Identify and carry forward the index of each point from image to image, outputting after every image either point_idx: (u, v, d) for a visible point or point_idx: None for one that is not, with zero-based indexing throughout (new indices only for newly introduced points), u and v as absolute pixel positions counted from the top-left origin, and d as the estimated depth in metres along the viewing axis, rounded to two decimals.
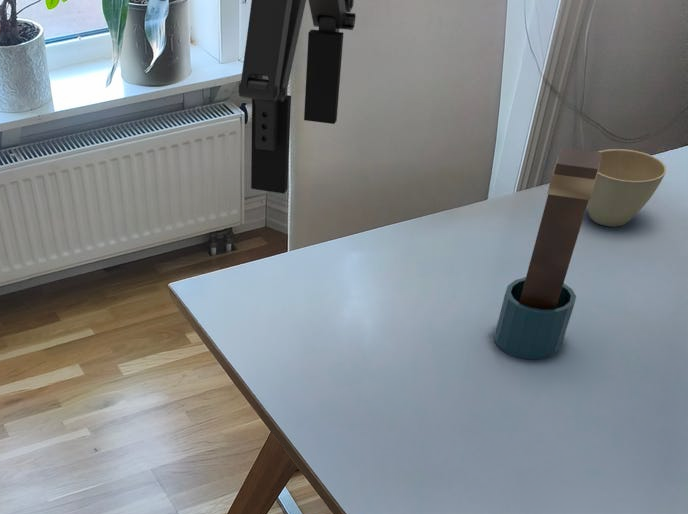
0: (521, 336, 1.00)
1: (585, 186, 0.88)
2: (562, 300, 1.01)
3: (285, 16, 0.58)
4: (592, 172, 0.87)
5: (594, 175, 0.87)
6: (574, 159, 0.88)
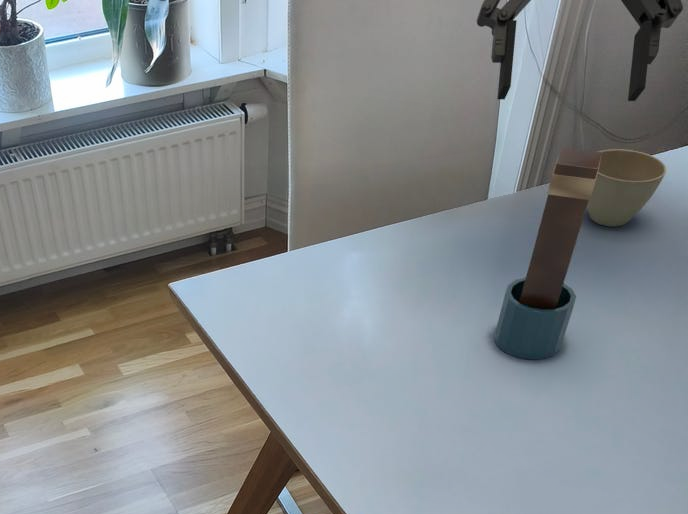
0: (521, 336, 1.00)
1: (585, 186, 0.88)
2: (562, 300, 1.01)
3: None
4: (592, 172, 0.87)
5: (594, 175, 0.87)
6: (574, 159, 0.88)
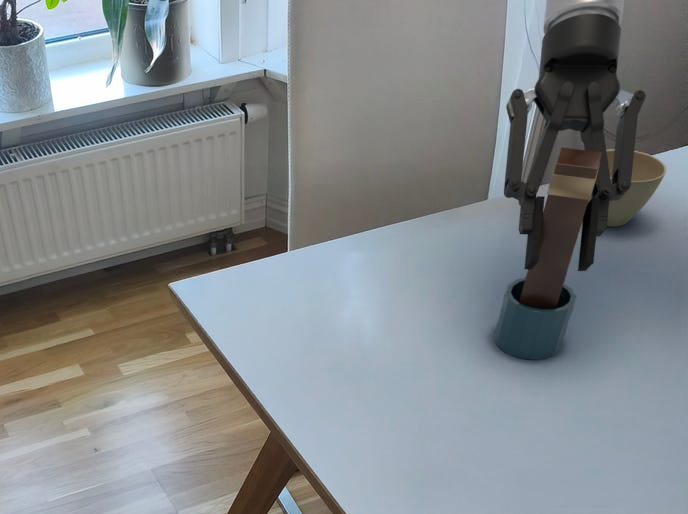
0: (521, 336, 1.00)
1: (585, 186, 0.88)
2: (562, 300, 1.01)
3: (515, 140, 0.91)
4: (592, 172, 0.87)
5: (594, 175, 0.87)
6: (574, 159, 0.88)
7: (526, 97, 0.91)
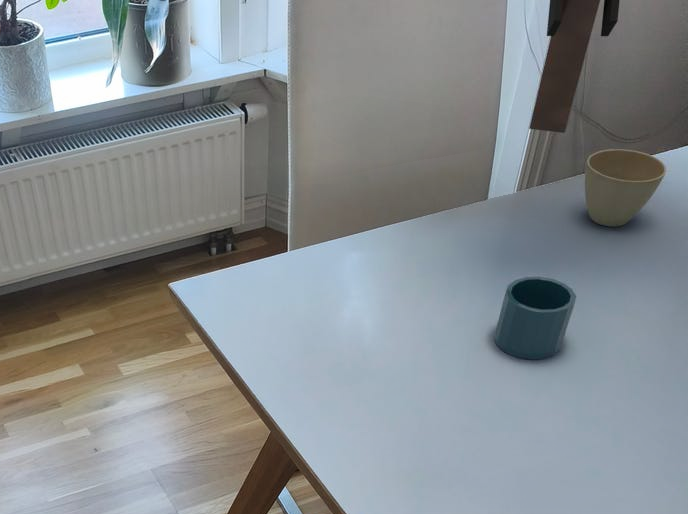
0: (521, 336, 1.00)
1: None
2: (562, 300, 1.01)
3: None
4: None
5: None
6: None
7: None
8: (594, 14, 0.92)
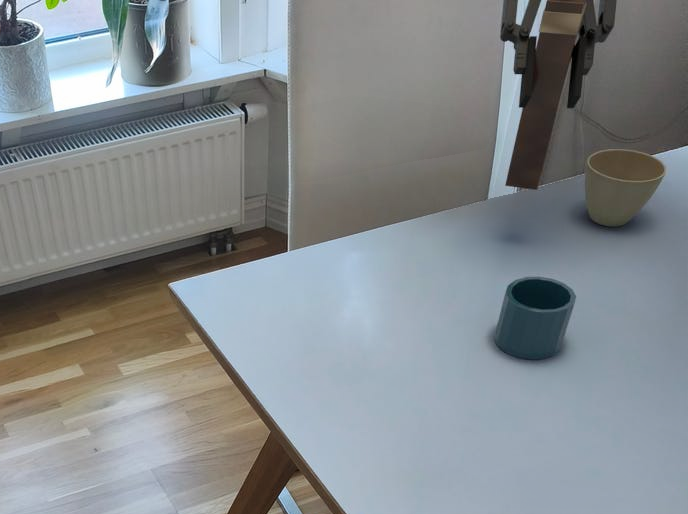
0: (521, 336, 1.00)
1: (572, 21, 0.98)
2: (562, 300, 1.01)
3: None
4: (579, 7, 0.97)
5: (580, 10, 0.97)
6: None
7: None
8: (560, 89, 1.03)
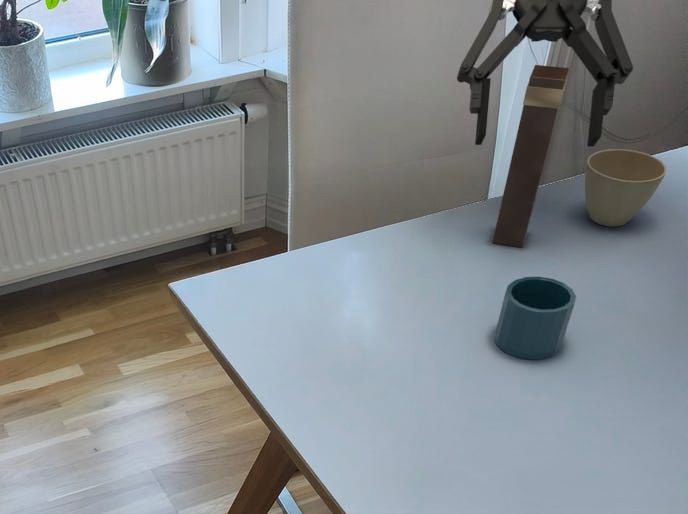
0: (521, 336, 1.00)
1: (554, 96, 1.04)
2: (562, 300, 1.01)
3: (480, 32, 1.06)
4: (560, 83, 1.03)
5: (562, 86, 1.03)
6: (545, 73, 1.04)
7: (506, 3, 1.06)
8: (544, 157, 1.09)
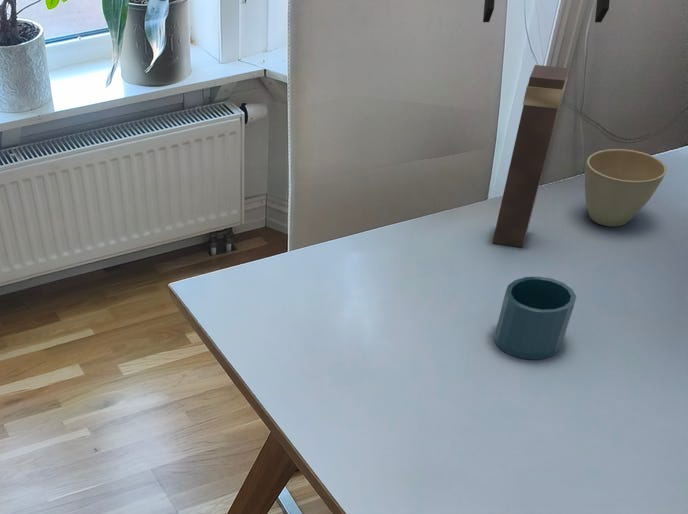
0: (521, 336, 1.00)
1: (554, 96, 1.04)
2: (562, 300, 1.01)
3: None
4: (560, 83, 1.03)
5: (562, 86, 1.03)
6: (545, 73, 1.04)
7: None
8: (544, 156, 1.09)
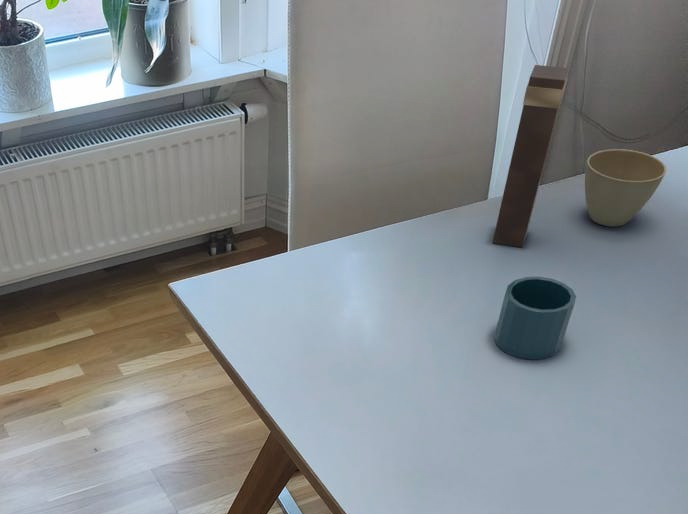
0: (521, 336, 1.00)
1: (554, 96, 1.04)
2: (562, 300, 1.01)
3: None
4: (560, 83, 1.03)
5: (562, 86, 1.03)
6: (545, 73, 1.04)
7: None
8: (544, 156, 1.09)
